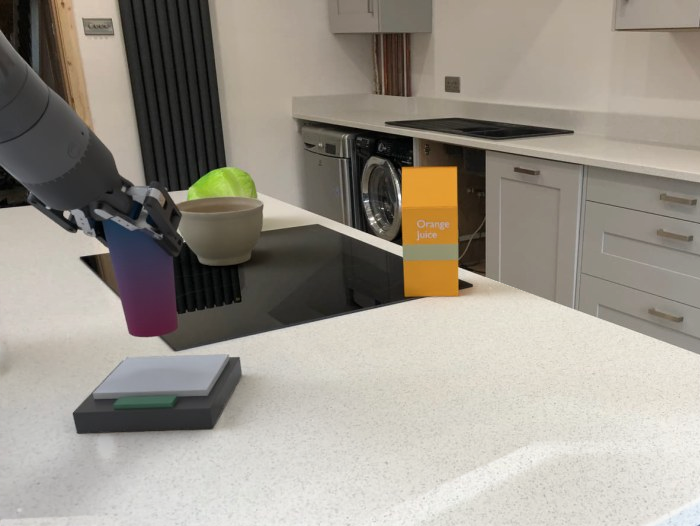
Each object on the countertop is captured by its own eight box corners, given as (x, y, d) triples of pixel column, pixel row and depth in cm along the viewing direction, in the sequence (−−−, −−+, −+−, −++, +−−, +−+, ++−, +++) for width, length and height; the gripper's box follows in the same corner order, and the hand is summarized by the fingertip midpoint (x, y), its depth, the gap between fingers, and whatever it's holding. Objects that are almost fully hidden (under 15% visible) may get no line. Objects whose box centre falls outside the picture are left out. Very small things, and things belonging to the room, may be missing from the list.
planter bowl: (197, 277, 130) (188, 216, 126) (170, 258, 142) (161, 202, 138) (282, 262, 139) (277, 204, 135) (250, 246, 151) (244, 192, 147)
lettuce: (208, 242, 154) (200, 177, 149) (181, 225, 170) (172, 166, 165) (278, 232, 162) (271, 170, 157) (246, 217, 178) (239, 160, 173)
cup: (111, 328, 80) (86, 190, 75) (173, 315, 84) (154, 183, 79) (131, 345, 75) (106, 199, 70) (196, 330, 80) (177, 191, 74)
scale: (76, 433, 76) (70, 405, 75) (125, 378, 89) (121, 353, 88) (212, 428, 77) (208, 401, 76) (242, 374, 90) (239, 350, 89)
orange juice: (458, 296, 118) (457, 170, 111) (404, 297, 118) (399, 170, 111) (458, 282, 125) (457, 162, 118) (406, 282, 125) (402, 163, 118)
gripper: (134, 111, 63) (220, 220, 78) (-9, 111, 66) (101, 216, 81) (105, 183, 60) (201, 282, 75) (-43, 179, 63) (78, 275, 78)
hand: (149, 247), depth 78 cm, fingers closed on cup, 6 cm apart
